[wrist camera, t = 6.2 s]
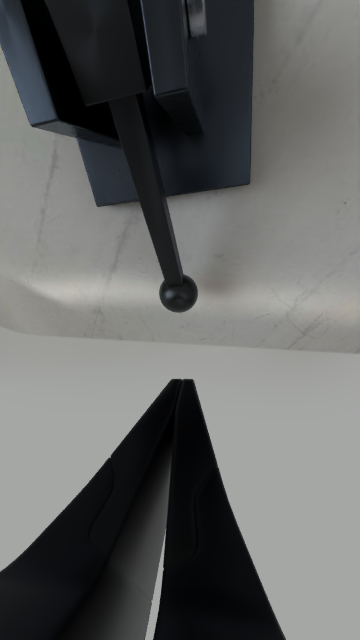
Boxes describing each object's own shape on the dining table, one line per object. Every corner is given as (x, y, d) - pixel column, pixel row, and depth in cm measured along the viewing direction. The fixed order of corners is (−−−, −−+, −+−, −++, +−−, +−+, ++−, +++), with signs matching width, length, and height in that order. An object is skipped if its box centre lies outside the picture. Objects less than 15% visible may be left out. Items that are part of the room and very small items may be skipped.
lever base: (248, 183, 14) (278, 194, 7) (104, 205, 16) (10, 230, 9) (253, -103, 9) (392, -1205, 2) (40, -22, 11) (-307, -399, 4)
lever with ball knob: (200, 290, 18) (199, 319, 16) (166, 293, 19) (162, 320, 17) (143, -71, 6) (120, -95, 5) (56, -37, 7) (8, -48, 5)
